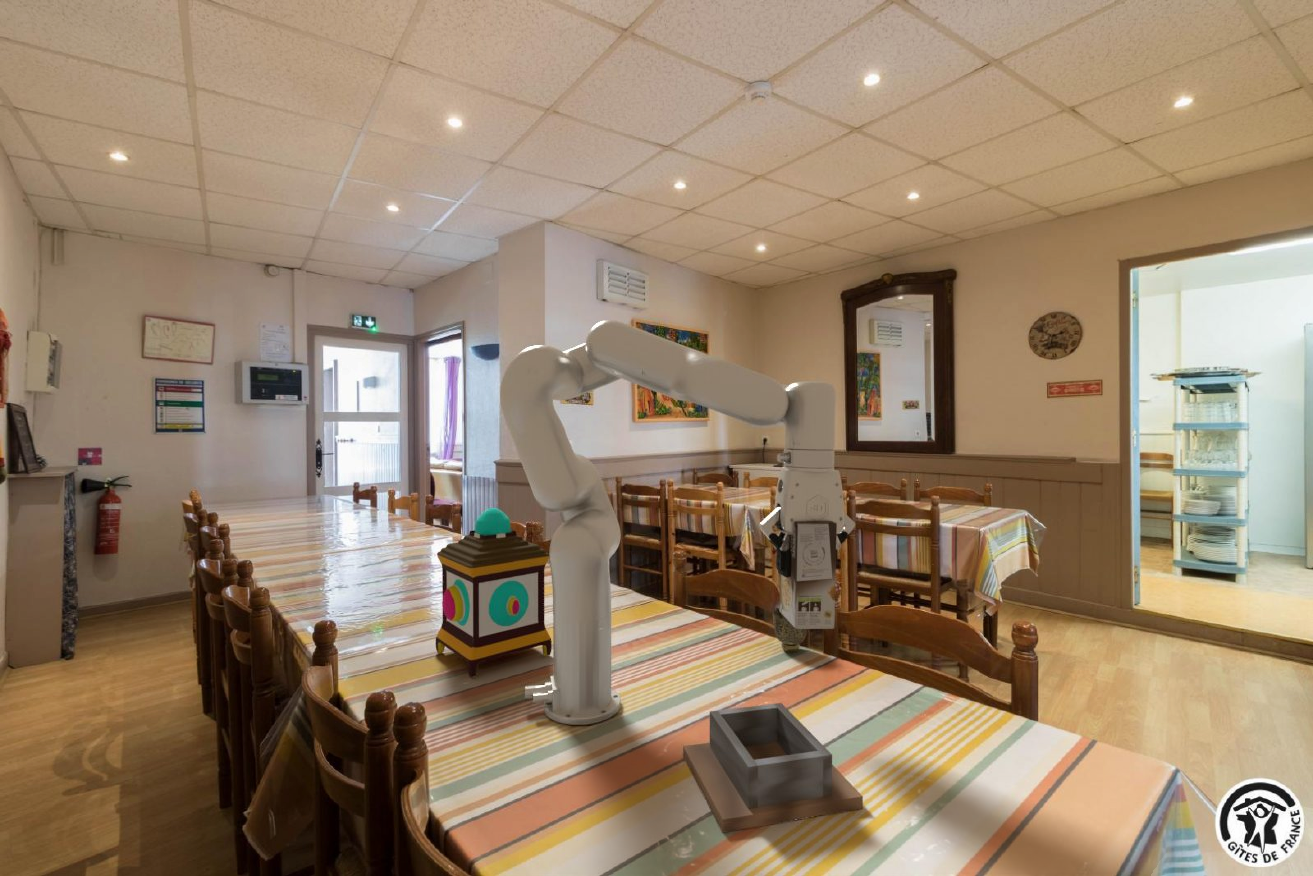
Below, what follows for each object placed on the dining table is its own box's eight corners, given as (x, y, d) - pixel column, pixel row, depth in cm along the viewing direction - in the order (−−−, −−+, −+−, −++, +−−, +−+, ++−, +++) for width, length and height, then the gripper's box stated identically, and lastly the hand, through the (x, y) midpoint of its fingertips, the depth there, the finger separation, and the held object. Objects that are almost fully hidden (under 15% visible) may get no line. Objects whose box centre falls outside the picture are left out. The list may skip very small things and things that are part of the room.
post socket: (722, 832, 67) (722, 776, 67) (683, 756, 83) (683, 710, 83) (862, 808, 72) (863, 755, 71) (800, 740, 87) (800, 697, 87)
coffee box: (836, 629, 88) (839, 522, 88) (794, 630, 88) (797, 522, 88) (814, 610, 98) (817, 513, 97) (777, 610, 97) (779, 513, 97)
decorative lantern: (466, 684, 106) (465, 518, 106) (425, 653, 121) (425, 507, 120) (561, 656, 119) (561, 508, 119) (514, 631, 134) (514, 499, 134)
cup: (809, 658, 118) (809, 618, 118) (772, 655, 120) (772, 616, 120) (807, 644, 126) (808, 607, 126) (772, 642, 127) (772, 605, 127)
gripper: (767, 462, 87) (765, 583, 87) (872, 462, 91) (869, 577, 91) (747, 459, 94) (745, 570, 94) (845, 459, 98) (843, 566, 98)
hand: (806, 573), depth 93 cm, fingers closed on coffee box, 7 cm apart
